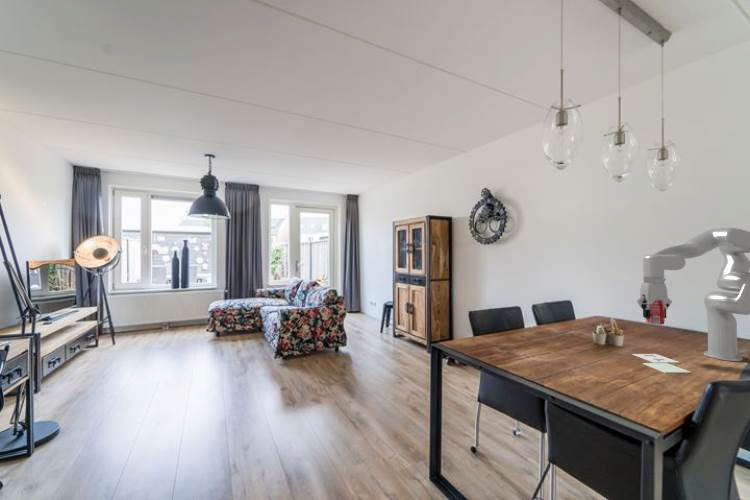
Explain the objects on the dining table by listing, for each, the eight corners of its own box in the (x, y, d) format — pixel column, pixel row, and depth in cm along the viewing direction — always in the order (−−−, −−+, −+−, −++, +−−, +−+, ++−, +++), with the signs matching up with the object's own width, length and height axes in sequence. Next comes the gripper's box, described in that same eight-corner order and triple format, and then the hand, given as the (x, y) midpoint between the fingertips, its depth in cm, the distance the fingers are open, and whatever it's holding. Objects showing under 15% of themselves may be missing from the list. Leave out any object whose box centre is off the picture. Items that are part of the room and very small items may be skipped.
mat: (666, 363, 143) (666, 362, 143) (691, 372, 132) (691, 371, 132) (642, 364, 143) (642, 363, 143) (665, 373, 132) (665, 372, 132)
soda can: (656, 322, 154) (656, 298, 154) (668, 325, 147) (668, 300, 147) (641, 322, 154) (640, 298, 155) (652, 325, 147) (651, 300, 148)
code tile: (655, 354, 156) (655, 353, 156) (679, 362, 144) (679, 362, 144) (632, 354, 156) (632, 353, 156) (653, 362, 144) (653, 362, 144)
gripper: (664, 280, 155) (665, 316, 155) (629, 280, 155) (630, 316, 154) (679, 281, 147) (680, 319, 147) (642, 281, 147) (643, 319, 147)
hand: (654, 317), depth 151 cm, fingers closed on soda can, 7 cm apart
